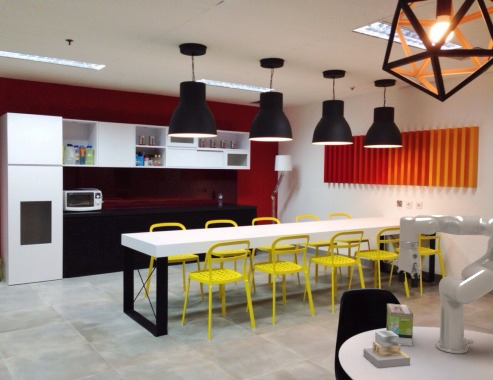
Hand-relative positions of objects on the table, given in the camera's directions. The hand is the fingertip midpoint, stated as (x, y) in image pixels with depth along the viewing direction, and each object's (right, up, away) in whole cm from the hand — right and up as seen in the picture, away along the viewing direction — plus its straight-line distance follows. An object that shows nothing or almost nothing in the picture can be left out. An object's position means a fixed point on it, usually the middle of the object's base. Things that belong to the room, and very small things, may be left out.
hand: (407, 284), depth 191 cm
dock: (-13, -29, -11) cm, 33 cm away
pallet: (-13, -26, -11) cm, 31 cm away
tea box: (0, -28, +12) cm, 31 cm away
